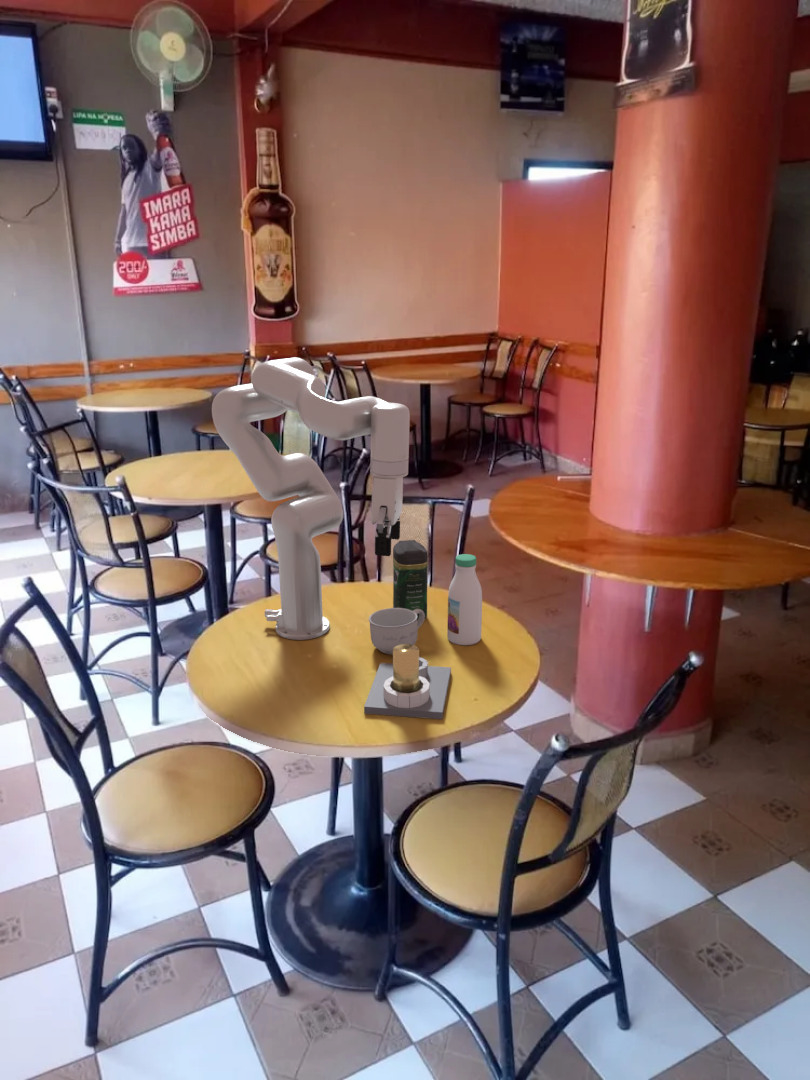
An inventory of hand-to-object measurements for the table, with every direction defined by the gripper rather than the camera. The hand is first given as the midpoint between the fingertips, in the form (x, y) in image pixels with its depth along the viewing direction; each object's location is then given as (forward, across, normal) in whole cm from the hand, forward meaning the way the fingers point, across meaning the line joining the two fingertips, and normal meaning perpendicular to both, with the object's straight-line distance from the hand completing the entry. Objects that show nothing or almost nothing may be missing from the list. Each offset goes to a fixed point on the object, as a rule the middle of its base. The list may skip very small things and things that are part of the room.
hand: (387, 546), depth 169 cm
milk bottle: (+26, -13, +16) cm, 33 cm away
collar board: (+26, +13, +8) cm, 30 cm away
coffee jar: (+27, -24, +2) cm, 36 cm away
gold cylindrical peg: (+24, +17, +8) cm, 31 cm away
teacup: (+27, -7, +2) cm, 28 cm away
